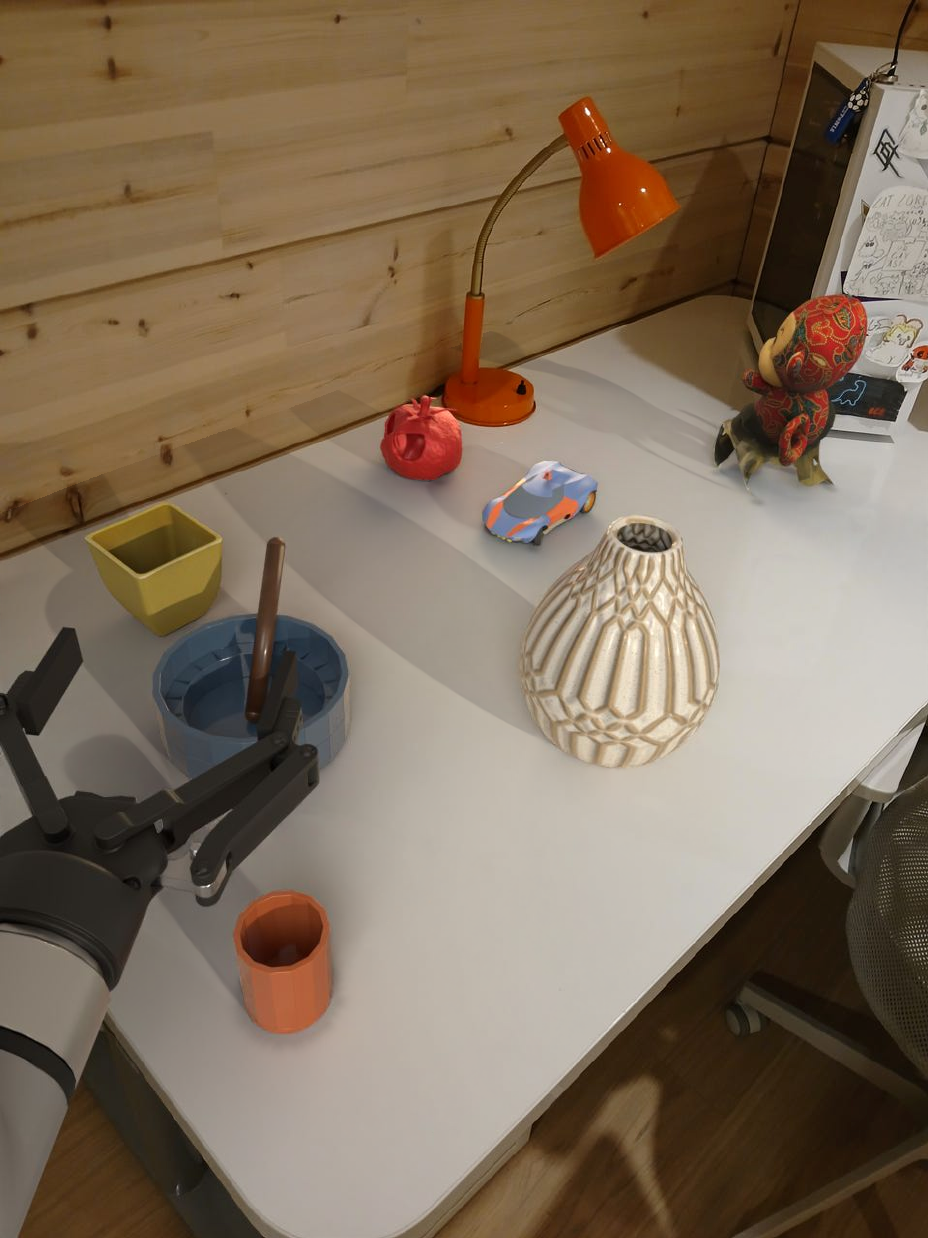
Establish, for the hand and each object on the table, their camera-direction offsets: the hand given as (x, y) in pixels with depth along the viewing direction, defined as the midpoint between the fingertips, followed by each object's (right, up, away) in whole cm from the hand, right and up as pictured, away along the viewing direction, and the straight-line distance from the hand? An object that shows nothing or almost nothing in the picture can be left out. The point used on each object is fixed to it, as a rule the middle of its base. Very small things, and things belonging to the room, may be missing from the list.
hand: (182, 655), depth 59 cm
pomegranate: (+12, +20, +56) cm, 61 cm away
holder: (+6, -22, +3) cm, 23 cm away
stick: (0, -6, +20) cm, 21 cm away
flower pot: (-11, +2, +32) cm, 33 cm away
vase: (+29, -7, +23) cm, 38 cm away
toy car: (+25, +13, +48) cm, 56 cm away
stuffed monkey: (+54, +19, +57) cm, 81 cm away
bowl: (0, -7, +21) cm, 22 cm away
